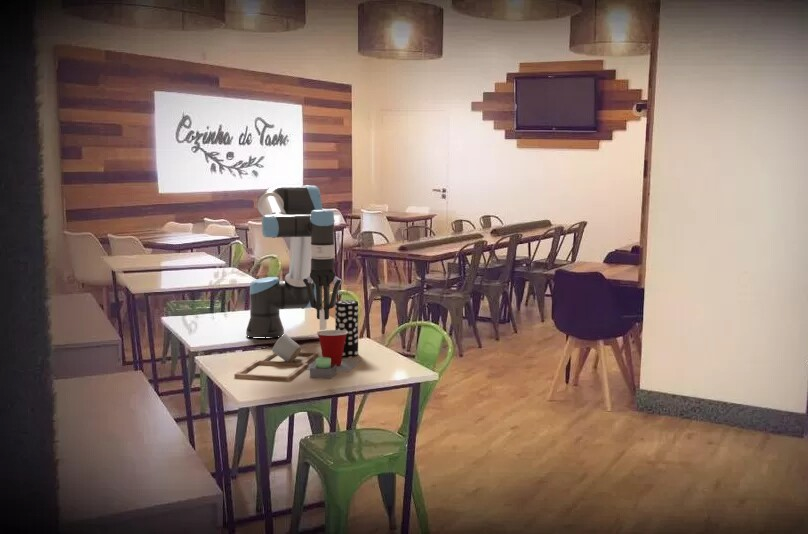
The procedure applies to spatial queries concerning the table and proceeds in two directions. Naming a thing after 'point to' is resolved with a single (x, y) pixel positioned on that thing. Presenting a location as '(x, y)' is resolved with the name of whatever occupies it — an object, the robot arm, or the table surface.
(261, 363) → the wooden rectangular frame
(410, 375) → the table surface
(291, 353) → the ceramic mug
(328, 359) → the button
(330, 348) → the plastic cup
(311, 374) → the button base
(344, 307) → the white-spotted black cylinder
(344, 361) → the mat
